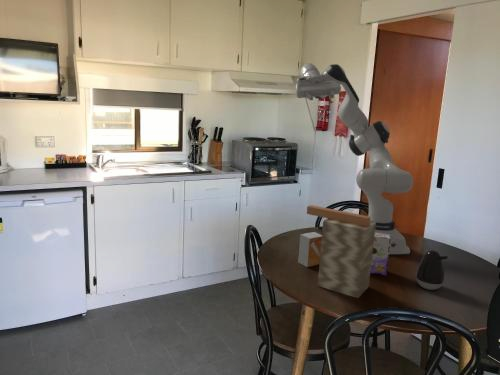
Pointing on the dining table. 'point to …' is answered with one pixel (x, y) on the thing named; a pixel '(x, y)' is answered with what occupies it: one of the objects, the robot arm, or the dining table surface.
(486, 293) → the dining table surface
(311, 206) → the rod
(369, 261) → the stand
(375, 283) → the dining table surface
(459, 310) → the dining table surface
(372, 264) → the candy box
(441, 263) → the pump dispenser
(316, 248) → the small box
